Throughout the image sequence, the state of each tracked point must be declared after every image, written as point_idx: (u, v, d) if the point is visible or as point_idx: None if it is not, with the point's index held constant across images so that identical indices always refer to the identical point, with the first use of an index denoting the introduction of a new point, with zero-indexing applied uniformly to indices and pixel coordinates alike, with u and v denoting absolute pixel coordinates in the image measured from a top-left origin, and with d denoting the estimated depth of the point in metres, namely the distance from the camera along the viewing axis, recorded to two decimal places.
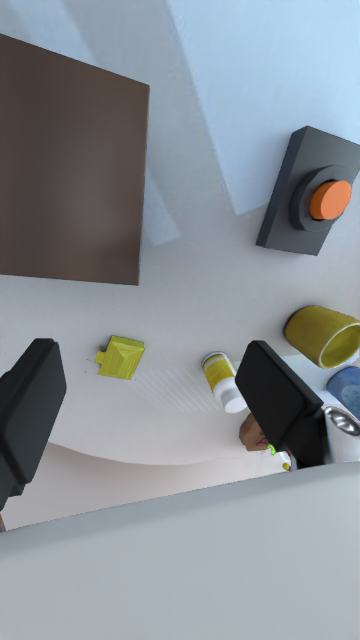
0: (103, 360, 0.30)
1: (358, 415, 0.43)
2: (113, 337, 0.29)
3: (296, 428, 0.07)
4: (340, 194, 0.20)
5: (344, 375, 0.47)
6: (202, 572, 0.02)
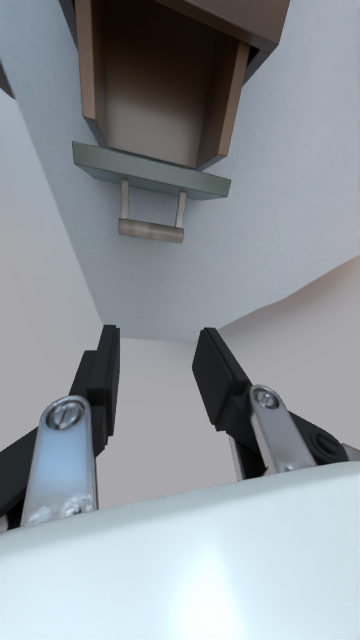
0: None
1: None
2: None
3: (228, 406, 0.08)
4: None
5: None
6: (202, 572, 0.02)
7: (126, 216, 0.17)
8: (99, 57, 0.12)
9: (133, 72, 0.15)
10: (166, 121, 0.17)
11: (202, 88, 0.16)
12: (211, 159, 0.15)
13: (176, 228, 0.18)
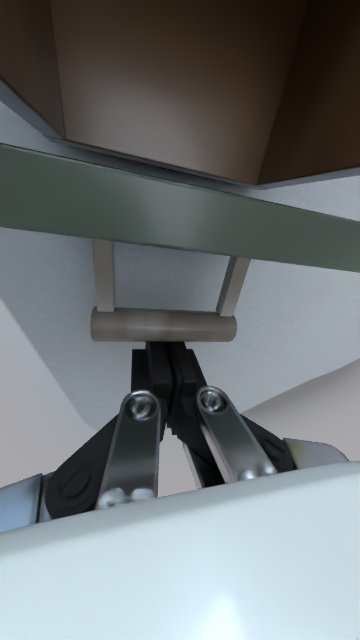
0: None
1: None
2: None
3: (178, 408, 0.07)
4: None
5: None
6: (202, 572, 0.02)
7: (109, 307, 0.07)
8: None
9: None
10: (203, 79, 0.07)
11: None
12: (335, 171, 0.06)
13: (221, 318, 0.08)
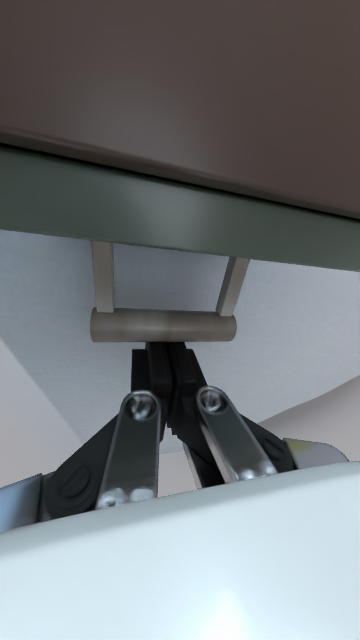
0: None
1: None
2: None
3: (178, 408, 0.07)
4: None
5: None
6: (202, 572, 0.02)
7: (109, 308, 0.07)
8: None
9: None
10: None
11: None
12: None
13: (221, 318, 0.08)
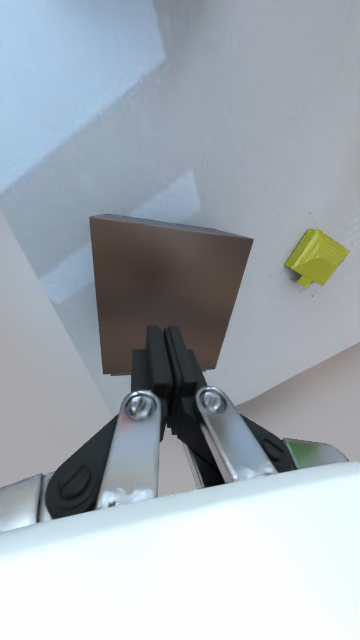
0: (309, 278, 0.28)
1: None
2: (287, 264, 0.27)
3: (178, 408, 0.07)
4: None
5: None
6: (202, 572, 0.02)
7: None
8: None
9: None
10: None
11: None
12: None
13: None
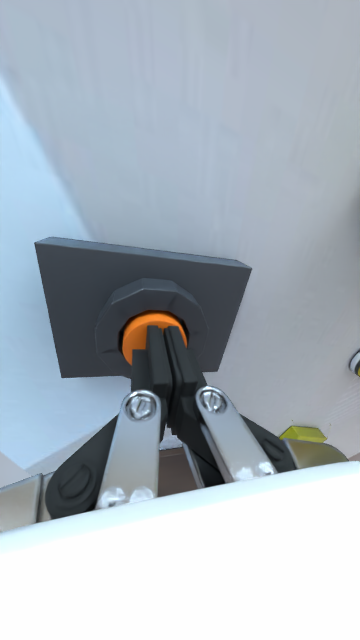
0: None
1: None
2: None
3: (178, 408, 0.07)
4: (144, 346, 0.10)
5: None
6: (202, 572, 0.02)
7: None
8: None
9: None
10: None
11: None
12: None
13: None
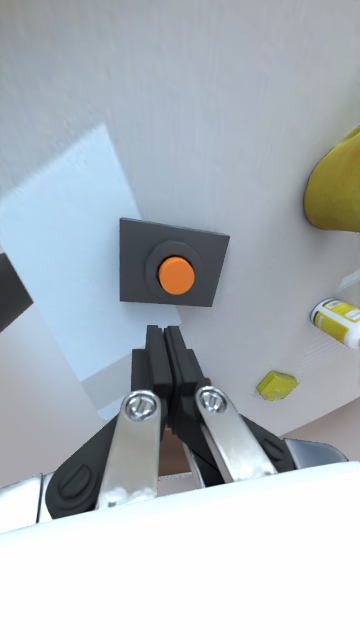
0: (273, 397, 0.41)
1: None
2: (258, 389, 0.40)
3: (178, 408, 0.07)
4: (171, 276, 0.19)
5: None
6: (202, 572, 0.02)
7: None
8: None
9: None
10: None
11: None
12: None
13: None
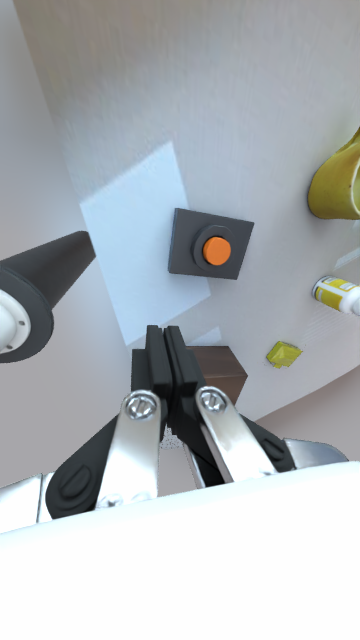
0: (280, 364, 0.48)
1: None
2: (268, 357, 0.47)
3: (178, 408, 0.07)
4: (214, 250, 0.26)
5: None
6: (202, 572, 0.02)
7: None
8: None
9: None
10: None
11: None
12: None
13: None
